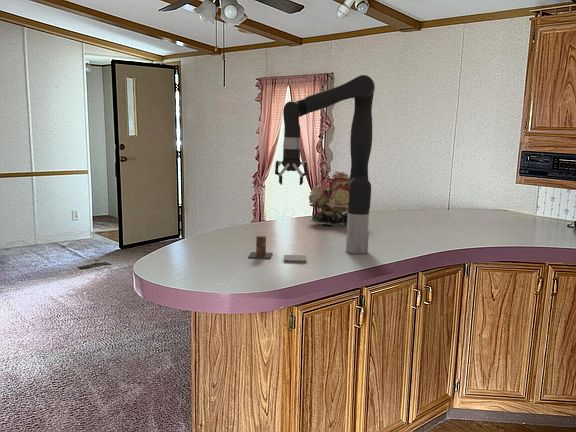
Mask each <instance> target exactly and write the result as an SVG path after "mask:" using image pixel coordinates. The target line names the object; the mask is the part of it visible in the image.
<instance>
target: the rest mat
mask: <svg viewBox="0 0 576 432" xmlns="http://www.w3.org/2000/svg"><path fill="white" fill-rule="evenodd" d="M272 257H273V252H266V254H265V256H256V251H251V252H250V254H249V255H248V259H256V260H257V259H259V260H261V259H262V260H271V259H272Z"/></svg>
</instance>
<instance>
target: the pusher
mask: <svg viewBox="0 0 576 432" xmlns="http://www.w3.org/2000/svg"><path fill="white" fill-rule="evenodd" d="M255 245H256V247H255V252H256V256H265V254H266V253H267V235H266V234H256V241H255Z"/></svg>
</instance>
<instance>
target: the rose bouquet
mask: <svg viewBox="0 0 576 432" xmlns="http://www.w3.org/2000/svg"><path fill="white" fill-rule="evenodd" d="M349 179H350V176H349V174H348V173H346V172H344V171H342V172H339V171H334V173H332V176H331V178H329V180H328V185H329V188H327V187H325V186H323V185H322V184H320V185H317V186H315V187H314V188H313V190H312V191H309V195H308V200H309V202H308V203H309V206H310V207H312V210H318V209H321V211H317V213H315V214H313V215H312V217H311V219H310V221H311V222H313V223H316V224H317V225H329V227H332V228H338V227H339V228H341V227H345V226H346V227H347V218H348V205H349V187H348V185H349ZM345 222H346V223H345ZM340 226H341V227H340Z"/></svg>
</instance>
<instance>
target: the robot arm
mask: <svg viewBox="0 0 576 432" xmlns="http://www.w3.org/2000/svg"><path fill="white" fill-rule="evenodd" d="M375 88H376V87H375V82H374V80H373V78H371V76H368V75H366V74H360V75H357V76H356V77H354V78H353V79H350V80H349V81H347V82H345V83H343V84H341V85H338V86H335V87H332V88H329V89H326V90H323V91H319V92H316V93H313V94H310V95H308V96H305V97H304V98H303V99H299V100H295V101H293V100H290V101H287V102H286V103H285V104H284V106H283V112H282V113H283V114H282V115H283V124H284V129H283V131H284V132H283V146H282V147H283V148H282V150H283V151H282V152H283V154H282V160H276V161H275V166H274V167H275V169H274V175H277V176H278V184H279V185H283V175H284V173H286V171H287V172H297V173H298V175H299V186H302V185H303V183H304V177H305V176H307V175H308V162H307V161H301V125H300V117H303V116H305V115H308V114H310V113H314V112H317V111H320V110H323V109H325V108H329V107H331V106H333V105H336V104H337V103H340V102H343V101H346V100H348V99H354V112H353V116H352V122H351V129H350V138H349V139H350V145H349V146H350V148H349V149H350V150H349V151H350V175H349V177H350V179H349V185H348V187H349V205H348V218H347V226H346V239H345V240H346V242H345V243H346V244H345V251H346V252H347V253H349V254H355V255H363V254H365V255H366V254H368V252H369V233H370V232H369V224H370V223H369V222H370V221H369V219H370V209H371V199H372V184H371V182H370V181H369V172H368V171H369V161H370V157H371V151H372V145H373V111H372V109H373V102H374V100H373V99H374V95H375V94H374V93H375ZM281 165H282V167H283V168H282V169H281V171H279V167H280V166H281ZM301 165H302V167H303V170H304V172H302V170H301V169H300V168H299V167H300V166H301Z"/></svg>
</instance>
